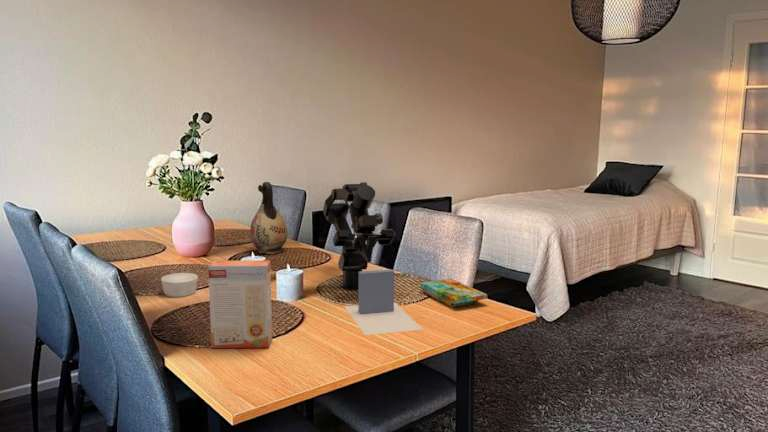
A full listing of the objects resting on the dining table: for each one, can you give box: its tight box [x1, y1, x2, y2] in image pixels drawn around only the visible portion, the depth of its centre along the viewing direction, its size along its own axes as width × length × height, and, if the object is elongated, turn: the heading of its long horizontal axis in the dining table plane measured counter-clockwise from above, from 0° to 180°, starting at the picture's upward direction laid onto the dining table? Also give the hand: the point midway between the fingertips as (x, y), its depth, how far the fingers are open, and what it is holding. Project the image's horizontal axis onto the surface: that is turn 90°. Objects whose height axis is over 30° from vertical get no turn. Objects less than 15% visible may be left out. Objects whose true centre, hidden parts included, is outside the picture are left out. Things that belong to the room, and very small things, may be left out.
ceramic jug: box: [249, 181, 289, 255], centre depth 238 cm, size 17×15×30 cm
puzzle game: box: [419, 278, 488, 308], centre depth 181 cm, size 12×5×20 cm
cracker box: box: [207, 260, 273, 349], centre depth 141 cm, size 14×6×21 cm, turn 92°
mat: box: [343, 301, 424, 336], centre depth 163 cm, size 24×16×1 cm, turn 17°
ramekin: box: [160, 272, 199, 298], centre depth 184 cm, size 11×11×5 cm
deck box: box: [357, 268, 395, 314], centre depth 167 cm, size 2×10×12 cm, turn 107°
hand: (369, 261), depth 174 cm, fingers closed
